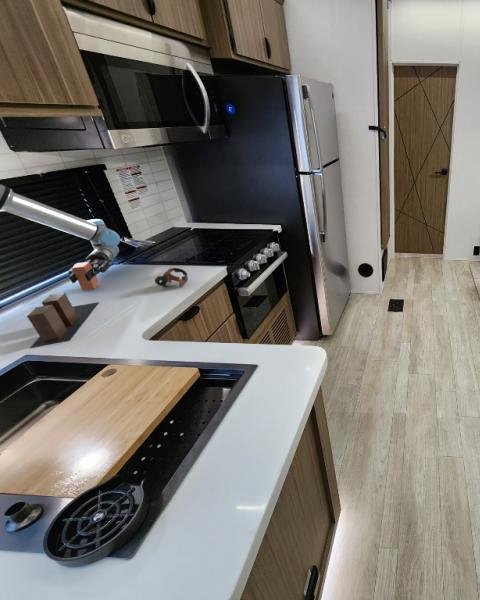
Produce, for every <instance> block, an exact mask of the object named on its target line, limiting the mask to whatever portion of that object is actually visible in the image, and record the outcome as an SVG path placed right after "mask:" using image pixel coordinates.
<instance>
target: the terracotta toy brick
mask: <svg viewBox="0 0 480 600" xmlns="http://www.w3.org/2000/svg"><path fill="white" fill-rule="evenodd" d="M75 264H76V265H75V266H74V265H73V266H74V267H73V266H72V267H71V268H72V270H73V272H74V274H75V276H76V278H77V282H78V284H79V286H80V288H81V290H82V291H89V290H95V289H96V288H97V287H98V286H99V284H100V282H99V280H98V277H97V275H95V276H94V277H93V278H92V279H91V280H90V281H87V279H86V277H85V274H86V273H87V272H88V271H89V270H90V269H93V268H92V266H91V264H90V262H86V261H83V262H77V263H75ZM93 270H94V269H93Z"/></svg>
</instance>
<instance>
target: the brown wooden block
mask: <svg viewBox="0 0 480 600" xmlns="http://www.w3.org/2000/svg"><path fill="white" fill-rule="evenodd" d="M41 304H42V306H47V305H53V307H54V308H55V310H56V312H57V313H58V315H59V317H60V318H61V320H62V322H63V323H64V325H65V327H67V326H72V325H73V324H74V322H75V321H76V320H77V319H78V318H79V317H78V315H77V313H76V312H75V310H74V308H73V306H74V305H73V304H72V303H71V300H70V299H69V297H68V296H67V294H66V293H65V292H61V293H53V294H50V295H48V296H47V297H46V298H45V299H43V301H42V302H41Z"/></svg>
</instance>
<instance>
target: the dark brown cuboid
mask: <svg viewBox="0 0 480 600" xmlns="http://www.w3.org/2000/svg"><path fill="white" fill-rule="evenodd" d="M26 317H27V319H28V321H29V322H30V323H31V325H32V327H33V328H34V329H35V331H36V332H37V334H38V336H39V337H41V339H42V340H43V342H44V343H45V342H51V341H56V340H60V339H61V338H62V337H63V335H64V334H65V333H66V332H67V331H68V330H67V328H66V327H65V325H64V323H63V322H62V320H61V318H60V317H59V315H58V313H57V312H56V310H55V308H54V307H53V305H47V306H43V305H42V306H36V307H35V308H34V309H32V311H30V313H28V314H27V315H26Z"/></svg>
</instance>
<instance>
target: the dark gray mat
mask: <svg viewBox="0 0 480 600" xmlns="http://www.w3.org/2000/svg"><path fill="white" fill-rule="evenodd" d="M99 304H100V301H99V302H92V303H85V304H79V305H72V306H73V308H74V310H75V312H76V313H77V315H78V317H79V318H78V319H77V320H76V321H75V322H74V324H73V325H72V326H67V327H66V328H67V330H68V331H67V332H66V333H65V334H64V335H63V337H62V338H61V339H60V340H56V341H51V342H45V343H44V342H43V340H42V339H41V337H40V336H39V337H38V338H37V339H36V341H35V342H34V343H32V345H31V346H30V347H29V349H35V348H39V347H45V346H50V345H51V346H52V345H55V344H61V343H67V342H70V341H71V340H72V339H73V337H74V336H75V335H76V334H77V332H78V331H79V329H80V328H81V327H82V326H83V325H84V323H85V322H86V321H87V319H88V318H89V317H90V315H91V314H92V313H93V311H94V310H95V309H96V308H97V306H99Z"/></svg>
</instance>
